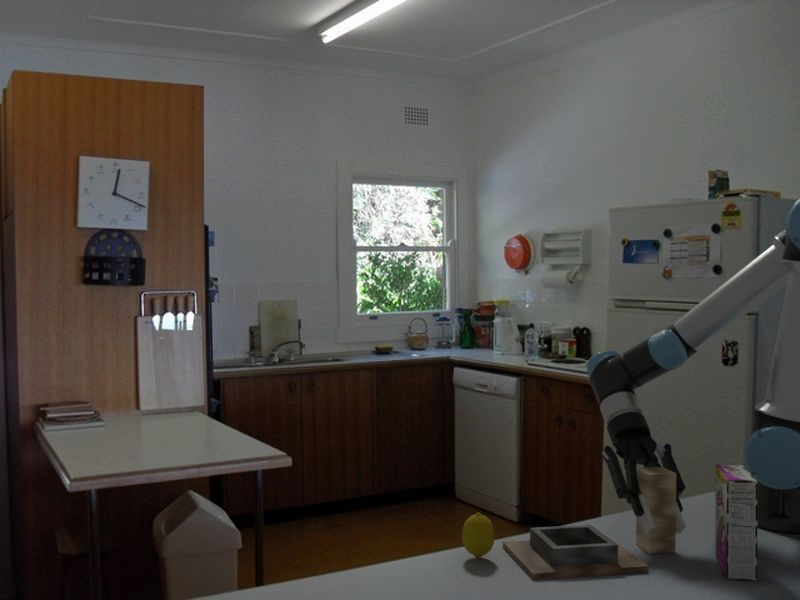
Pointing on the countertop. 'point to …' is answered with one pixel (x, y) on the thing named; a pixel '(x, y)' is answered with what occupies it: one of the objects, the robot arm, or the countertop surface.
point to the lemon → (478, 535)
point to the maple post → (658, 509)
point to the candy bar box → (736, 521)
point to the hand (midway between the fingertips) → (666, 530)
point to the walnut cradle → (572, 553)
